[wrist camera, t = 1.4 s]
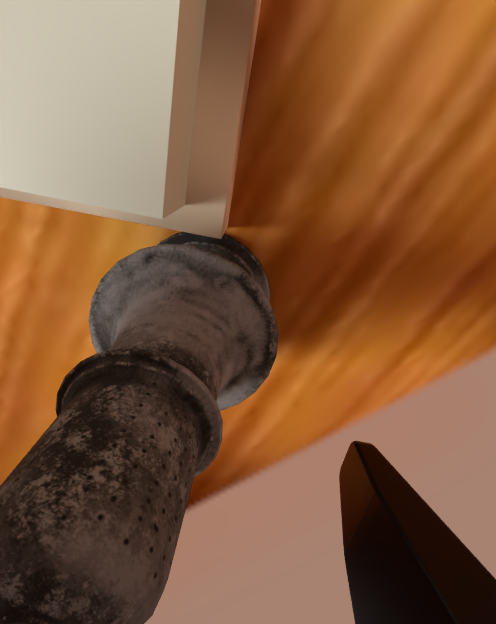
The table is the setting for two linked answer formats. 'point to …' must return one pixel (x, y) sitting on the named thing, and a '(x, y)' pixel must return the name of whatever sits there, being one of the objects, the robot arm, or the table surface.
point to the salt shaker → (133, 433)
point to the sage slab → (100, 100)
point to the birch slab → (202, 126)
